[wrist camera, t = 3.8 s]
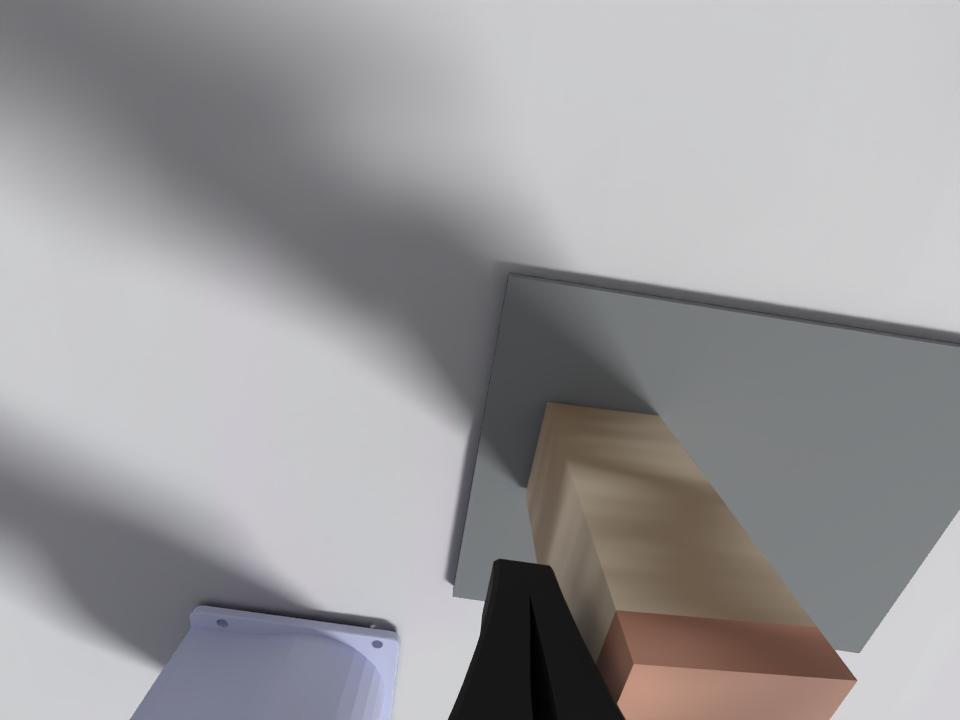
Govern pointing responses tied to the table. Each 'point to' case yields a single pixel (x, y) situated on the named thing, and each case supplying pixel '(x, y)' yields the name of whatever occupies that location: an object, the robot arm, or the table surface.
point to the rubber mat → (737, 434)
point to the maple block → (670, 579)
